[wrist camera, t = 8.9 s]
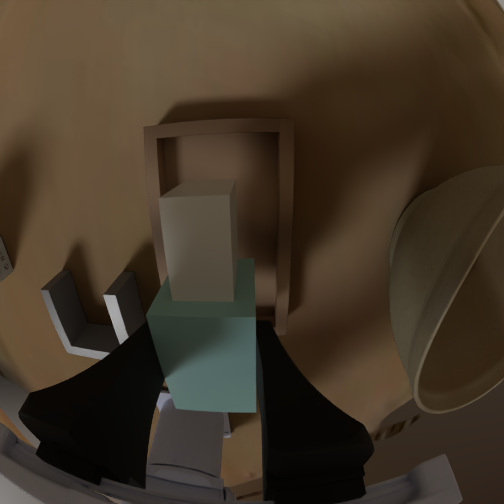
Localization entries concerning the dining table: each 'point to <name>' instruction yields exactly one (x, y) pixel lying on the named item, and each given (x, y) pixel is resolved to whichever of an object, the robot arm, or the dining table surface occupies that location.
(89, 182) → the dining table surface
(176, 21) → the dining table surface
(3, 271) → the skincare box
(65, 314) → the bay
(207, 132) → the tray
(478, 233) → the planter bowl
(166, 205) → the stacked two-tone block
